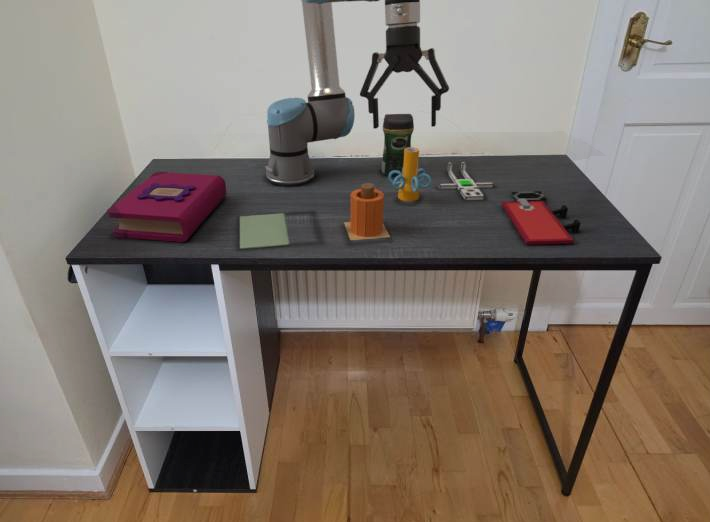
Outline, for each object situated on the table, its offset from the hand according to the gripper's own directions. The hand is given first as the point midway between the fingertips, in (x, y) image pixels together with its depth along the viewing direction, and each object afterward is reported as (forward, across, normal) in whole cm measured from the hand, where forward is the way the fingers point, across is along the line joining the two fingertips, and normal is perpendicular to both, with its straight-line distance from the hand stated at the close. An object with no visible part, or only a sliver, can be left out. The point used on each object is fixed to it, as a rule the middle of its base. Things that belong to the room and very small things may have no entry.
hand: (404, 126), depth 123 cm
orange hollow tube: (+24, -10, -4) cm, 26 cm away
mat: (+24, -32, -7) cm, 41 cm away
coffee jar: (+21, -9, +40) cm, 46 cm away
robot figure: (+24, +13, +35) cm, 44 cm away
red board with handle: (+28, +33, +16) cm, 46 cm away
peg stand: (+26, -10, -4) cm, 28 cm away
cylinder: (+24, -2, +19) cm, 31 cm away
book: (+21, -63, -7) cm, 67 cm away
